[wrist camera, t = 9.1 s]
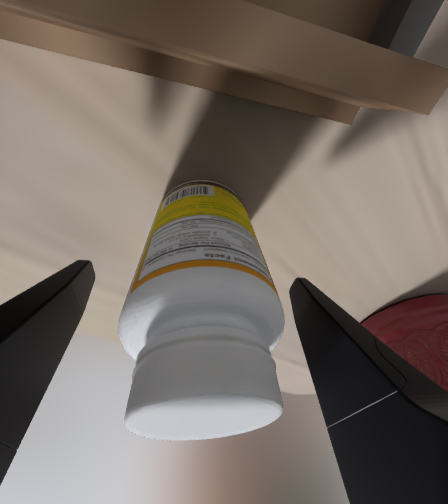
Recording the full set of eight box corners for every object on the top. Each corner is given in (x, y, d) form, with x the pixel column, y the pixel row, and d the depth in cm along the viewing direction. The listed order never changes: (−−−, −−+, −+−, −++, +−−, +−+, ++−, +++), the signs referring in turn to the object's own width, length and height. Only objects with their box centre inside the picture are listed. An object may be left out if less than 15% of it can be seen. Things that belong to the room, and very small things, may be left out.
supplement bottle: (213, 264, 16) (225, 449, 8) (142, 229, 13) (52, 446, 5) (264, 209, 13) (362, 401, 5) (189, 153, 11) (150, 352, 3)
